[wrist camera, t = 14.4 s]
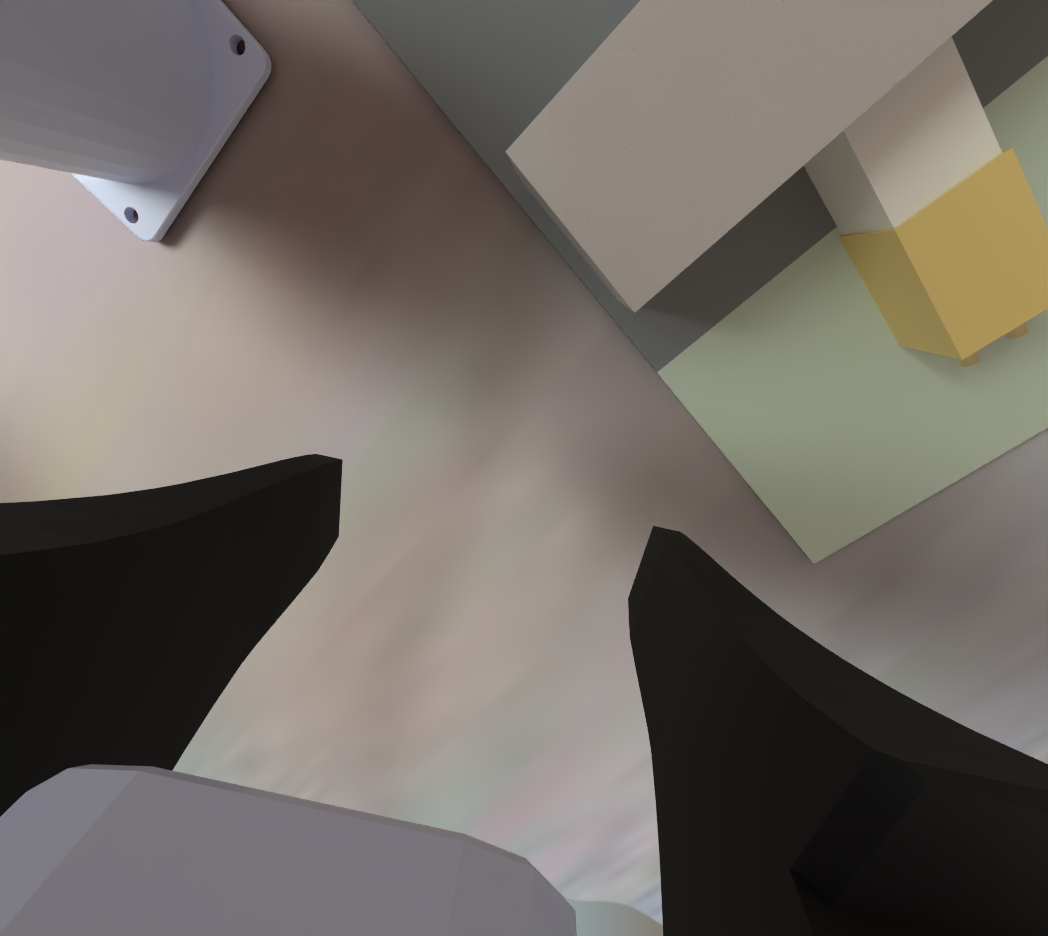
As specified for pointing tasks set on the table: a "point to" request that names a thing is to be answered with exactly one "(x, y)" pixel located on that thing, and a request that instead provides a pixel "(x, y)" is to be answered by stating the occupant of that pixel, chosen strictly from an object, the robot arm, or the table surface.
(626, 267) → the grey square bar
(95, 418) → the table surface
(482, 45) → the mat
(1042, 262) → the plug
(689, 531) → the table surface
